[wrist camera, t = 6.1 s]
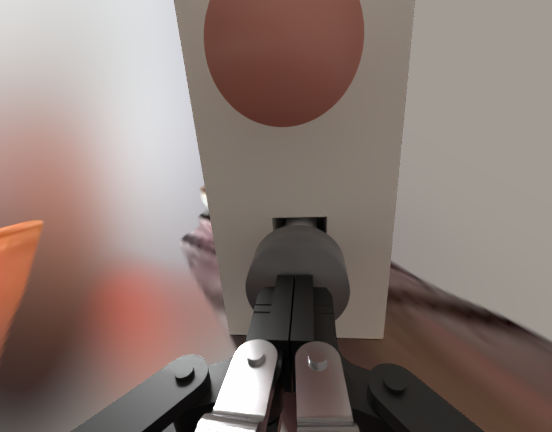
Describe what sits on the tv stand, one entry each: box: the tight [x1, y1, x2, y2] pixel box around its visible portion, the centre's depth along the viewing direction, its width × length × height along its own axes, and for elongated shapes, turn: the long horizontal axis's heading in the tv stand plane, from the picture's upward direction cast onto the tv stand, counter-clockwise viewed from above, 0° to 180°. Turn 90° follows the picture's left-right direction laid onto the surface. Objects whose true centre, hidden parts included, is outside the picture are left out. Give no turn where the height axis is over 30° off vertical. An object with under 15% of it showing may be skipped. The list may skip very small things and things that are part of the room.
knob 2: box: [245, 217, 350, 320], centre depth 16 cm, size 4×8×4 cm, turn 174°
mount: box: [174, 0, 415, 339], centre depth 18 cm, size 10×7×20 cm
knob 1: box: [204, 0, 364, 127], centre depth 12 cm, size 4×8×4 cm, turn 174°
